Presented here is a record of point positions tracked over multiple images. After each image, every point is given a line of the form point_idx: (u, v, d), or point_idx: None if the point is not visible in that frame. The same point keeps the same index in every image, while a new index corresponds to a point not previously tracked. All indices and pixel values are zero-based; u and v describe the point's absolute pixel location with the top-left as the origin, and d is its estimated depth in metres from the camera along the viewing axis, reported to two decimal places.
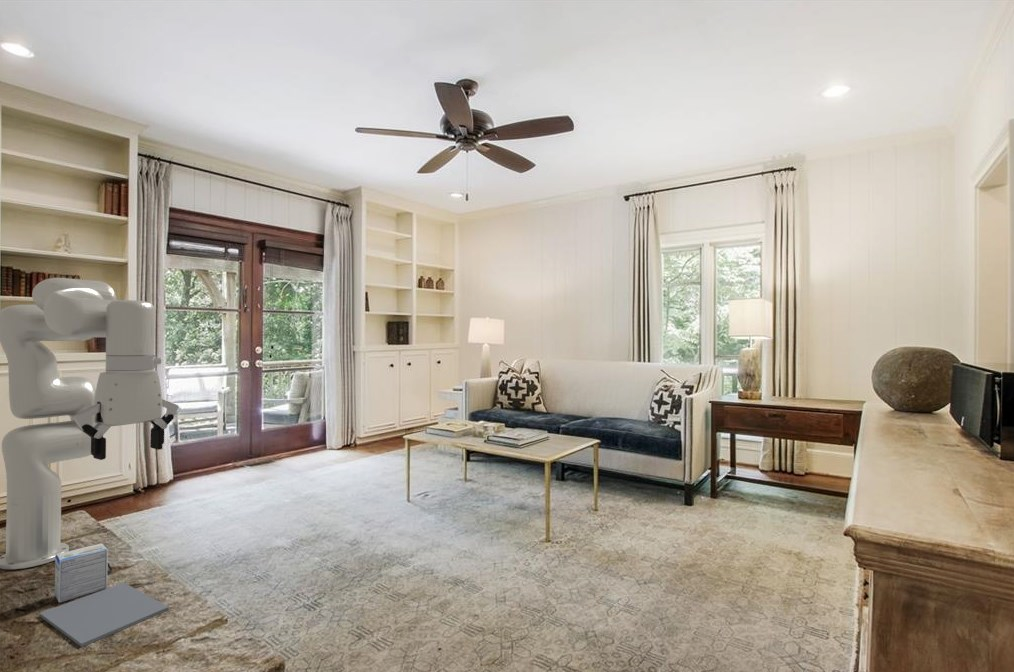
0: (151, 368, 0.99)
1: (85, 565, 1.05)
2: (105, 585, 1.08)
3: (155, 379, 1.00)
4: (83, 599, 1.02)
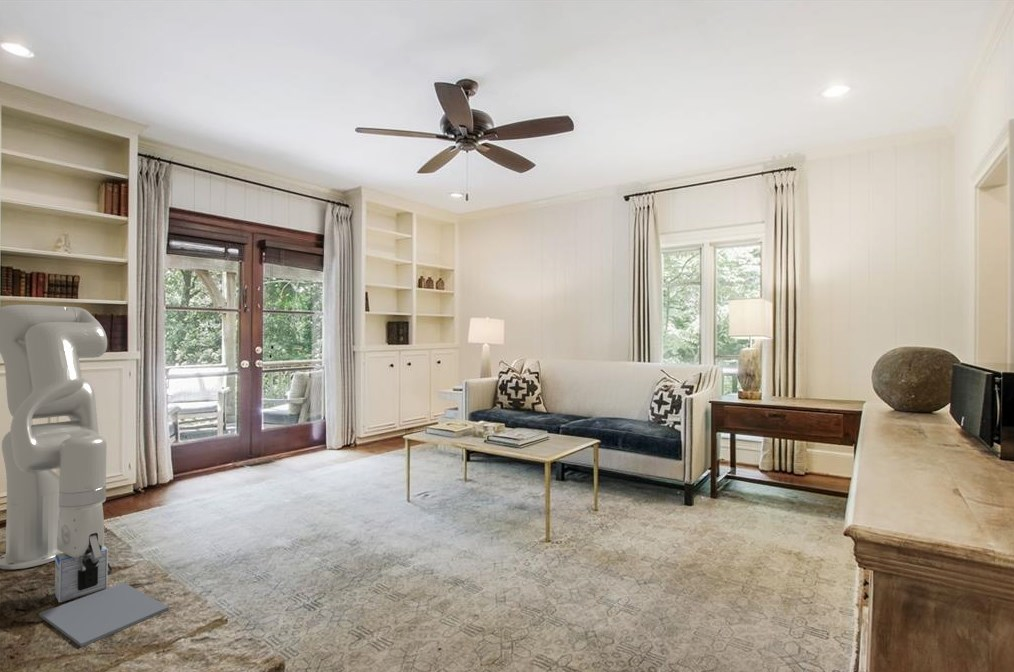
0: None
1: None
2: (105, 585, 1.08)
3: None
4: (83, 599, 1.02)
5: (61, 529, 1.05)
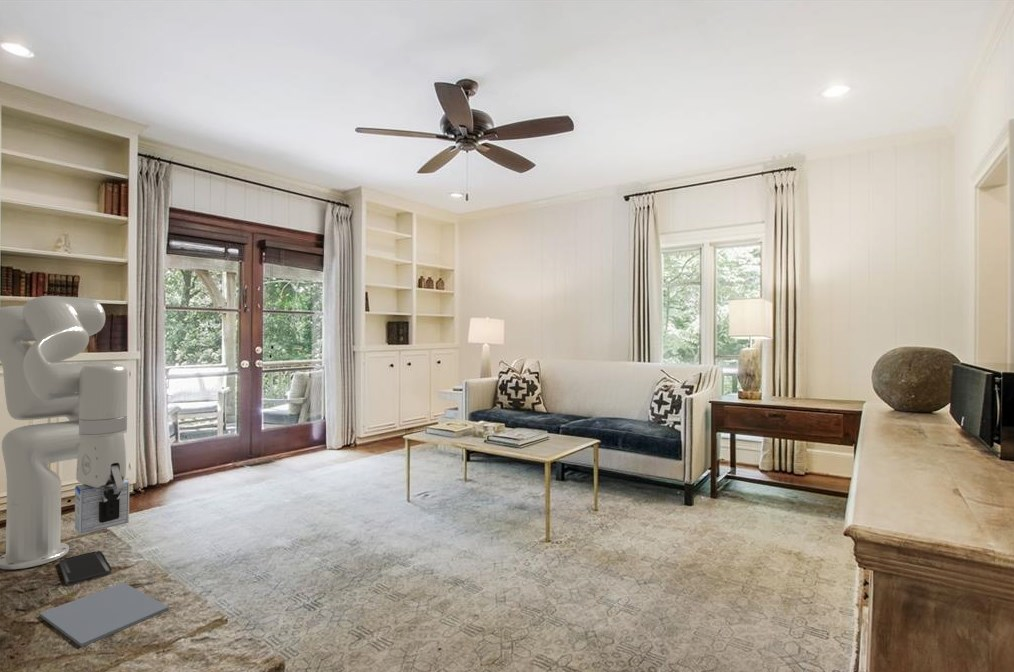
0: None
1: None
2: (127, 519, 1.03)
3: None
4: (83, 599, 1.02)
5: (81, 459, 1.00)
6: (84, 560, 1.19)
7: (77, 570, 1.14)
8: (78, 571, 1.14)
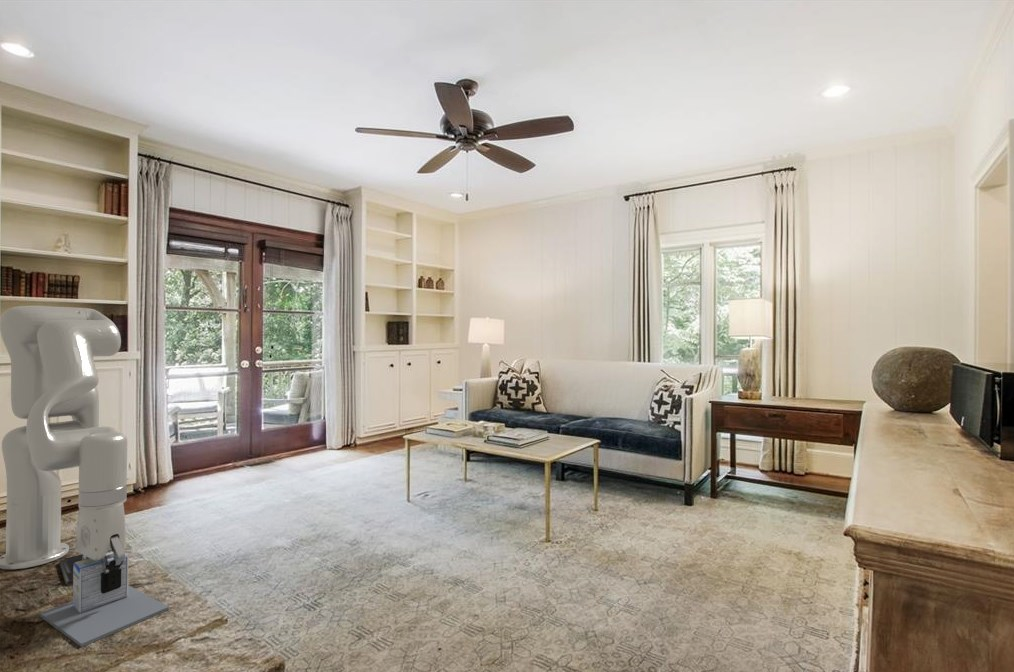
0: None
1: None
2: (126, 593, 1.03)
3: None
4: None
5: (81, 530, 1.00)
6: None
7: None
8: None
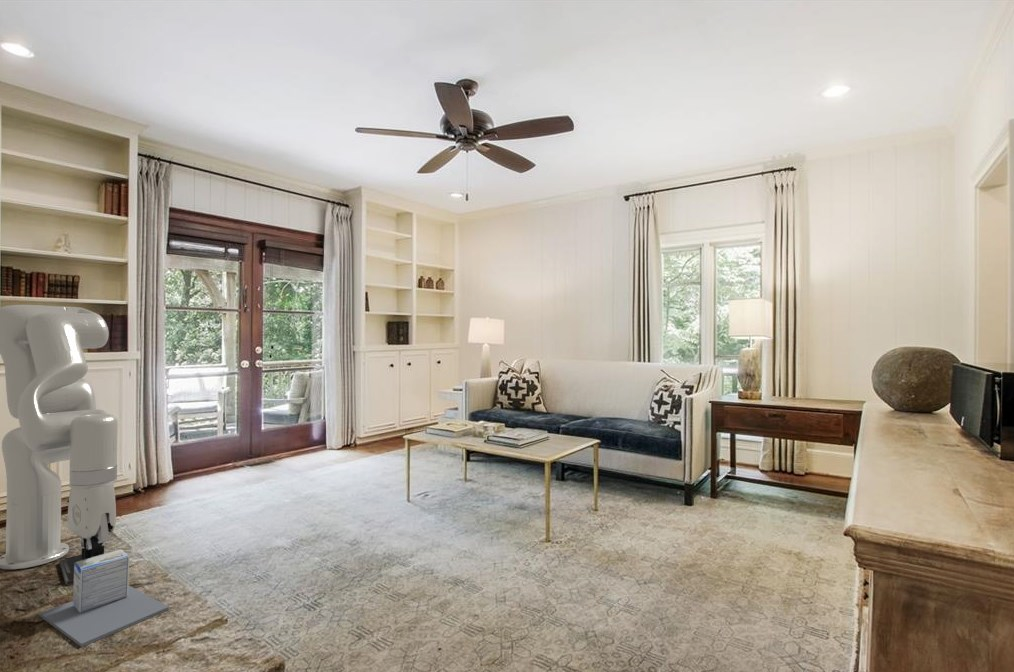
0: None
1: (106, 573, 1.00)
2: (126, 593, 1.03)
3: None
4: None
5: (72, 509, 1.02)
6: None
7: None
8: None
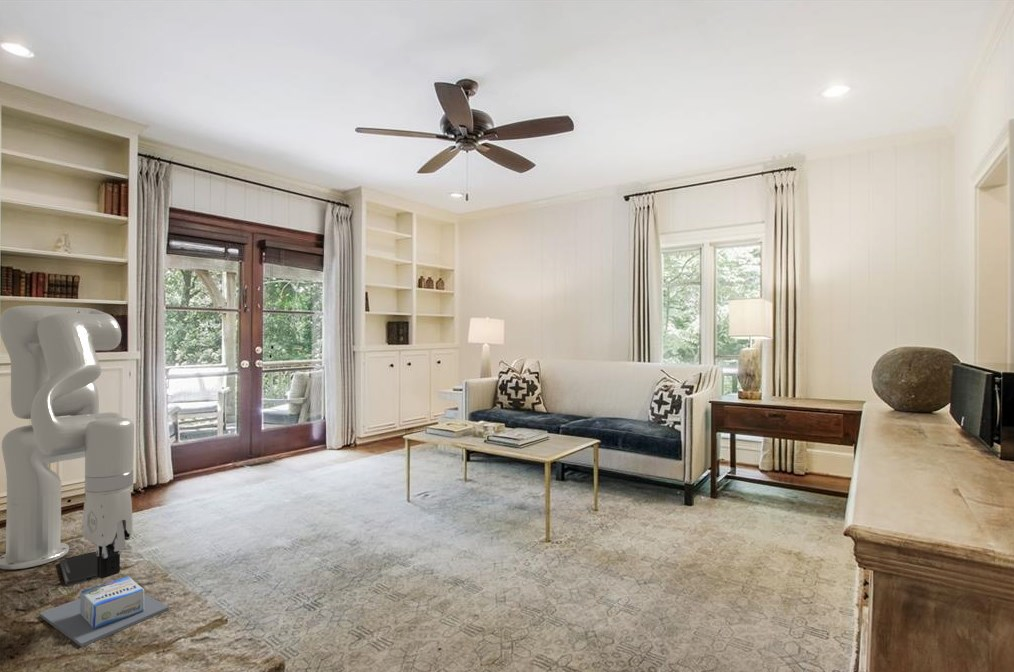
0: None
1: None
2: None
3: None
4: None
5: (87, 516, 0.99)
6: (84, 560, 1.20)
7: (77, 570, 1.14)
8: (78, 571, 1.14)
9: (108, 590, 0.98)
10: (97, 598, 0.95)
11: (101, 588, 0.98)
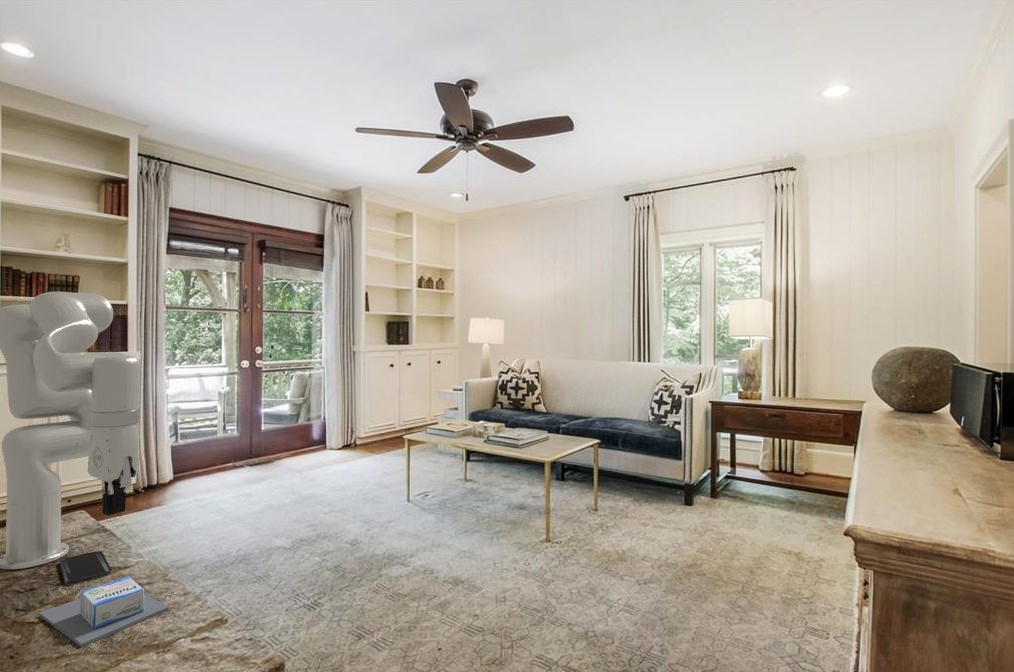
0: None
1: None
2: None
3: None
4: None
5: (93, 452, 0.98)
6: (84, 560, 1.20)
7: (77, 570, 1.14)
8: (78, 571, 1.14)
9: (108, 590, 0.98)
10: (97, 598, 0.95)
11: (101, 588, 0.98)
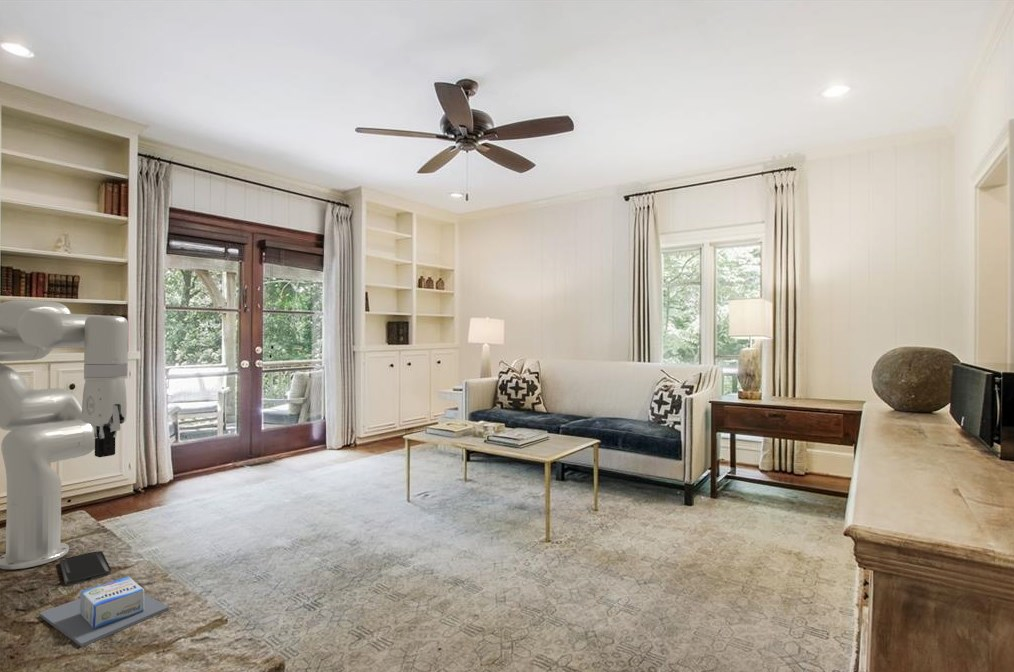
0: None
1: None
2: None
3: None
4: None
5: (86, 401, 1.10)
6: (84, 560, 1.20)
7: (77, 570, 1.14)
8: (78, 571, 1.14)
9: (108, 590, 0.98)
10: (97, 598, 0.95)
11: (101, 588, 0.98)
